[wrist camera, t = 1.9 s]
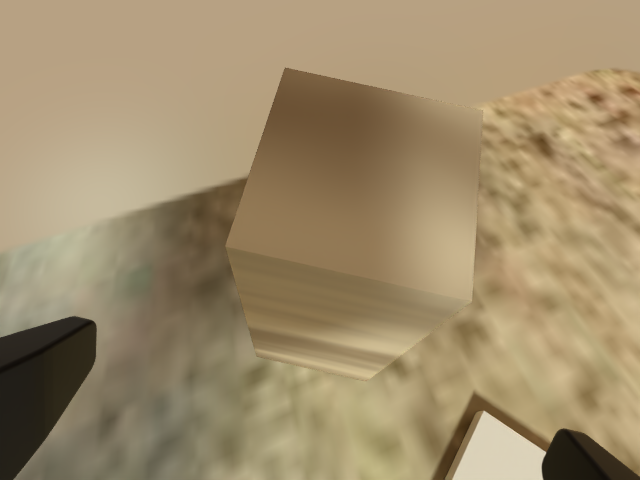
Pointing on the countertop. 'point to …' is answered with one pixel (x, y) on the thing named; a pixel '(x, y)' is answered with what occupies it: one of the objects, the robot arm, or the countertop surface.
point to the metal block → (355, 224)
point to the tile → (495, 453)
